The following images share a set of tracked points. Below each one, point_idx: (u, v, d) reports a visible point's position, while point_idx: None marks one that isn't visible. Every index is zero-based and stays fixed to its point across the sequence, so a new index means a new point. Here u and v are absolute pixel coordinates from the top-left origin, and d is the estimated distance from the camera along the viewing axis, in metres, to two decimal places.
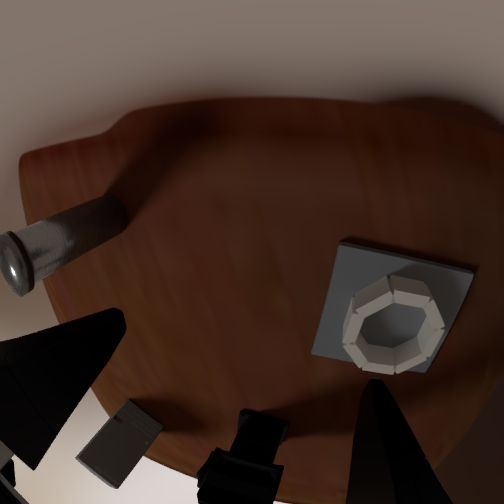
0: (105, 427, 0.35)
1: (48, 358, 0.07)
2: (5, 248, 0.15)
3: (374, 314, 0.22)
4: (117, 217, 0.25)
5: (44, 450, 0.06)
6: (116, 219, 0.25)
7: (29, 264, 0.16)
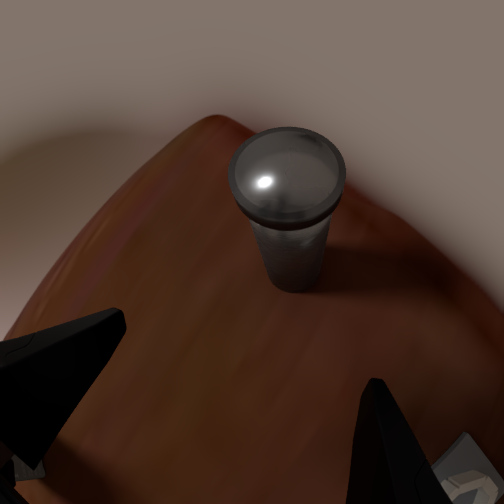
0: None
1: (48, 358, 0.07)
2: (316, 151, 0.12)
3: None
4: (316, 276, 0.22)
5: (44, 450, 0.06)
6: (315, 277, 0.21)
7: None
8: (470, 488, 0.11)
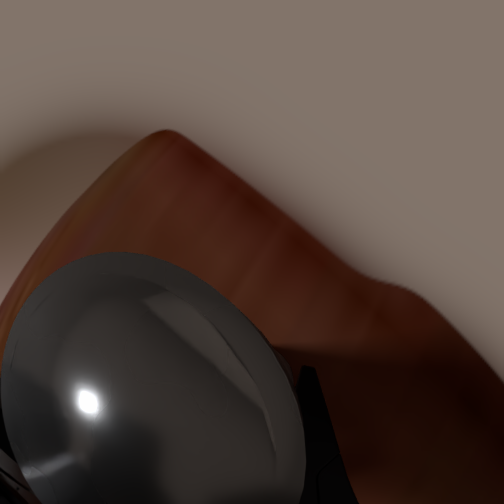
0: None
1: None
2: (198, 393, 0.03)
3: None
4: None
5: None
6: None
7: None
8: None
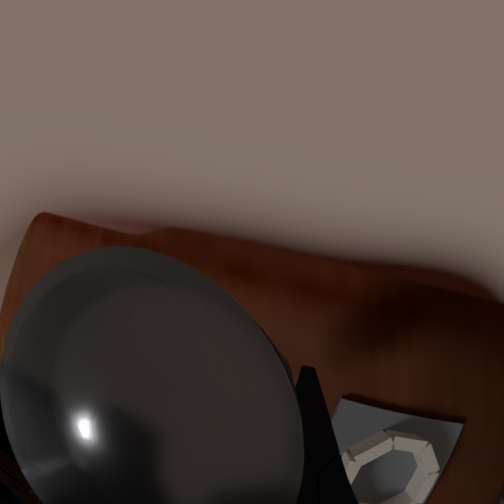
0: None
1: None
2: (197, 386, 0.03)
3: (364, 469, 0.16)
4: None
5: None
6: None
7: None
8: (374, 456, 0.15)
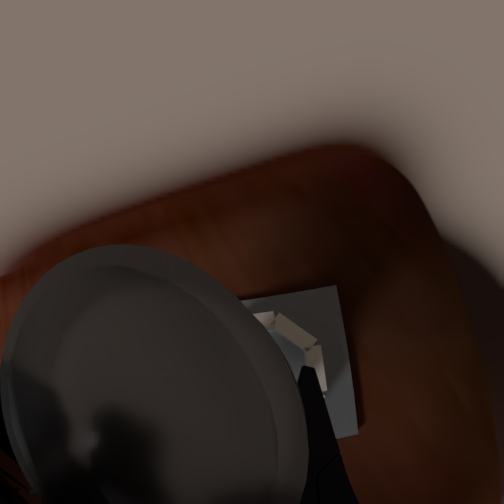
0: None
1: None
2: (200, 385, 0.03)
3: None
4: None
5: None
6: None
7: None
8: None
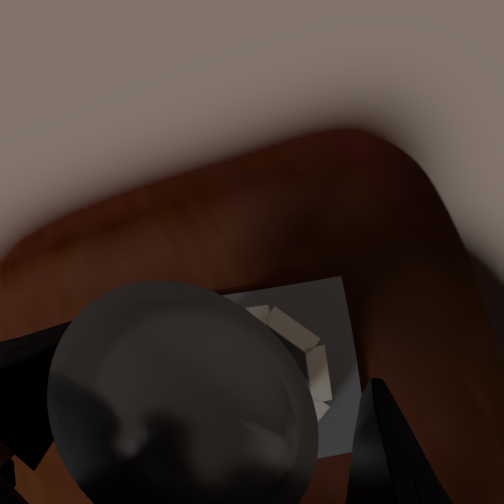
0: None
1: (48, 358, 0.07)
2: (239, 390, 0.04)
3: None
4: None
5: (44, 450, 0.06)
6: None
7: None
8: None
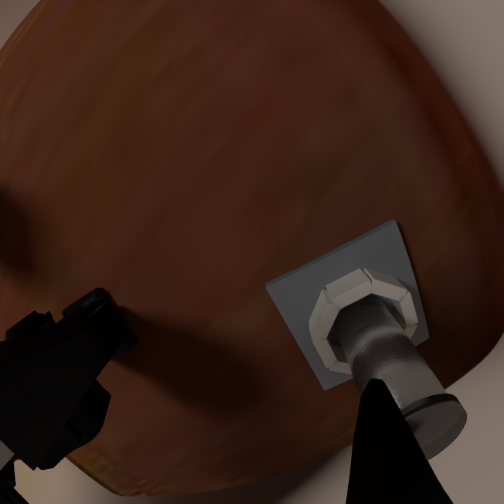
0: None
1: (48, 358, 0.07)
2: (435, 448, 0.09)
3: None
4: None
5: (44, 450, 0.06)
6: None
7: None
8: (385, 293, 0.19)
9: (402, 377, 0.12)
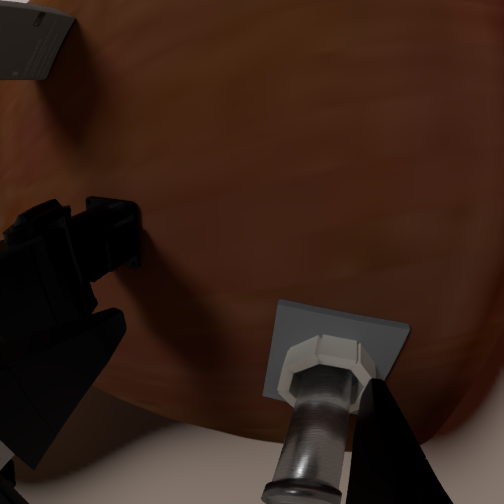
0: (21, 9, 0.11)
1: (48, 358, 0.07)
2: None
3: None
4: None
5: (44, 450, 0.06)
6: None
7: None
8: (359, 376, 0.20)
9: (322, 457, 0.14)
